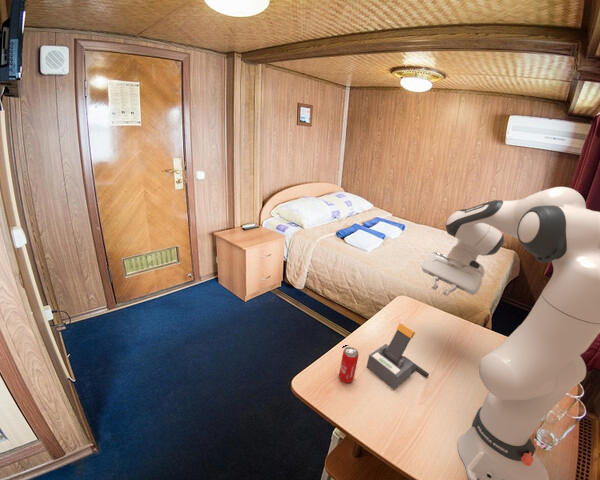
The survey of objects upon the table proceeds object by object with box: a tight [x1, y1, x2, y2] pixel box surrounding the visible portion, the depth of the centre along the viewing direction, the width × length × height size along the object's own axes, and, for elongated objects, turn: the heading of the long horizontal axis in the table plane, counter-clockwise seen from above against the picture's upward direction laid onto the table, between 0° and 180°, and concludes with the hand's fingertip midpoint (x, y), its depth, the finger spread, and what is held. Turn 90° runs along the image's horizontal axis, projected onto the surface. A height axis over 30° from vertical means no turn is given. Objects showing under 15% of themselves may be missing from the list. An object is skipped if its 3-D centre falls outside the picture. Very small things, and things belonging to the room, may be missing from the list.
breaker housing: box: [366, 343, 414, 391], centre depth 109 cm, size 12×12×9 cm
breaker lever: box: [383, 323, 416, 364], centre depth 107 cm, size 6×2×13 cm, turn 40°
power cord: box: [403, 355, 430, 378], centre depth 112 cm, size 11×5×2 cm, turn 40°
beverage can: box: [338, 346, 359, 384], centre depth 104 cm, size 5×5×12 cm
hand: (439, 291), depth 109 cm, fingers open, 3 cm apart
